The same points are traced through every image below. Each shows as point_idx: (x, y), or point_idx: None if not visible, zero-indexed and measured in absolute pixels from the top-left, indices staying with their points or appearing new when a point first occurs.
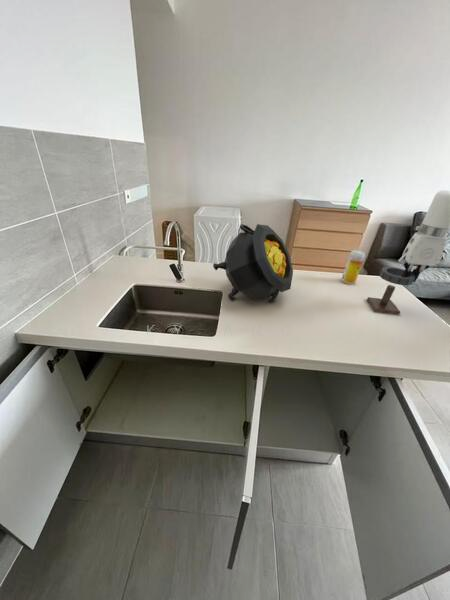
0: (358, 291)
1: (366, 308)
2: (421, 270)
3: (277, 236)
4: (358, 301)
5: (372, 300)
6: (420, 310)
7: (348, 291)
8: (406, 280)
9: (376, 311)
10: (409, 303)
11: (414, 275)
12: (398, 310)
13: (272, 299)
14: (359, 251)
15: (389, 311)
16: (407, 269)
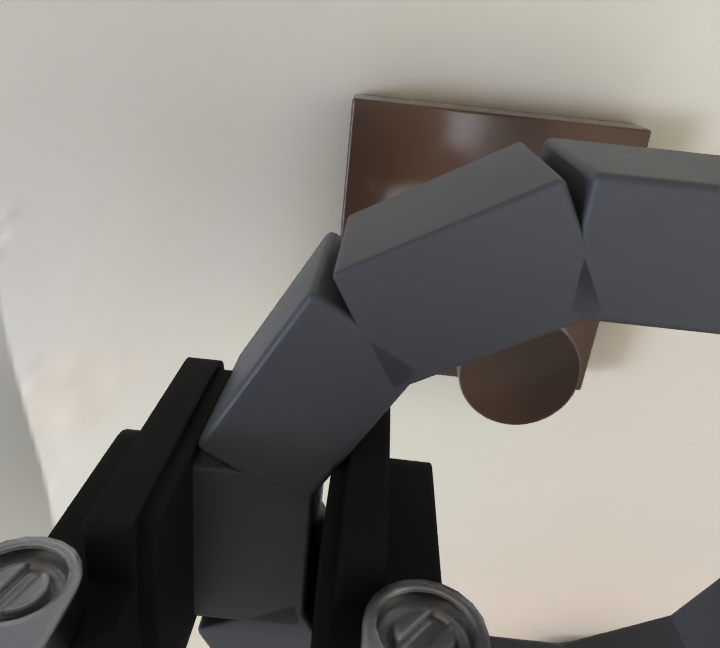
0: (558, 526)
1: None
2: (6, 602)
3: None
4: (689, 332)
5: None
6: (44, 231)
7: (675, 515)
8: (629, 170)
9: (613, 123)
10: (107, 359)
11: (208, 479)
12: (363, 124)
13: None
14: None
15: (474, 110)
16: (476, 645)
